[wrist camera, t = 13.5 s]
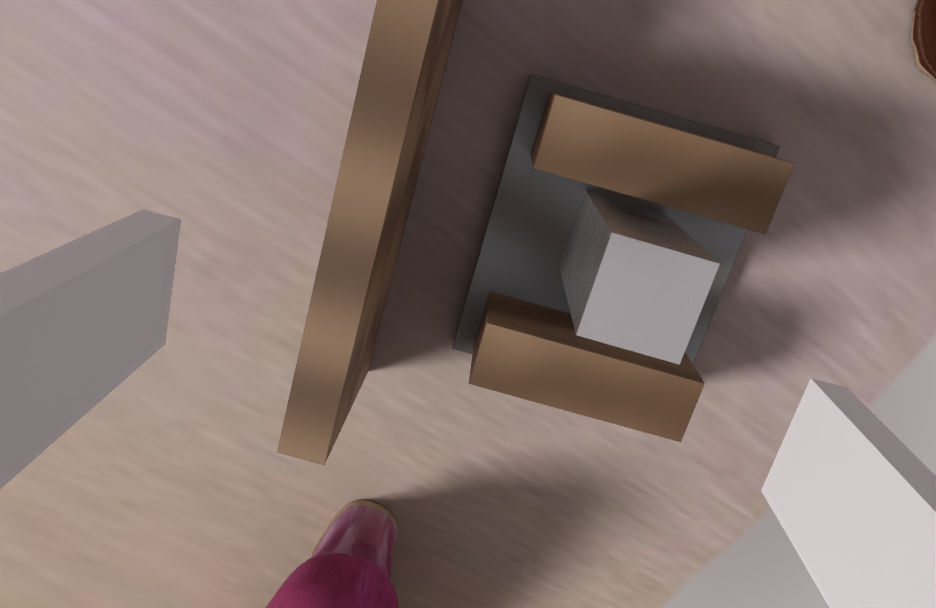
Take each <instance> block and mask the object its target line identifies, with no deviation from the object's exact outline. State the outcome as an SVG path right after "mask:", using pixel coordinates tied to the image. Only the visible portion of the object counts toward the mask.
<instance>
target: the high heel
mask: <svg viewBox="0 0 936 608" xmlns="http://www.w3.org/2000/svg"><path fill="white" fill-rule="evenodd" d="M397 531H398V525H397V522H396V520H395V518H394V516H393V515H392V514H391V513H390V512H389V511H388V510H387V509H386V508H384V507H383V506H380V505H378V504H376V503H374V502H372V501H367V500H357V501H353V502H350V503H349V504H347V505H345V506H344V507H343V508H342V509H341V510H340V511H339V512H338V513H337V515H336V516H335V517H334V518H333V520H332V521H331V523H330V524H329V526H328V527H327V529H326V530H325V532H324V533H323V535H322V537H321V538H320V540H319V541H318V543H317V545H316V546H315V548H314V550H313V553H312V558H310V559H308V560H307V561H306V562H304V563H303V564H301V565H300V566H299V567H298V568H297V569H296V570H295V571H293V573H292V574H291V575H290V576H289V577H288V578H287V579H286V581H285V582H284V583H283V584H282V586H281V587H280V588H279V590H278V591H277V592H276V594H275V595H274V597H273V598H272V600H271V601H270V602H269V604H268V605H267V607H266V608H399V605H398V599H397V595H396V592H395V589H394V586H393V584H392V582H391V577H390V569H391V558H392V552H393V547H394V543H395V539H396V536H397Z"/></svg>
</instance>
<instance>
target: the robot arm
mask: <svg viewBox="0 0 936 608" xmlns="http://www.w3.org/2000/svg"><path fill="white" fill-rule="evenodd" d="M180 223H181V219H178V218H174V217H170V216H166V215H162V214H158V213H154V212H150V211H146V210H141V211H139V212H137V213H134V214H132V215H130V216H128V217H125V218H123V219H121V220H119V221H117V222H114V223H112V224H110V225H108V226H105V227H103V228H101V229H99V230H97V231H94V232H92V233H90V234H88V235H85V236H83V237H81V238H79V239H77V240H74V241H72V242H70V243H68V244H65V245H63V246H61V247H59V248H57V249H54V250H52V251H50V252H48V253H45V254H43V255H41V256H39V257H37V258H34V259H32V260H30V261H28V262H25V263H23V264H21V265H19V266H17V267H14V268H12V269H10V270H8V271H5V272H3V273H1V274H0V489H1V488H2V487H3V486H4V485H5V484H7V483H8V482H9V481H10V480H11V479H12V478H13V477H14V476H16V475H17V474H18V473H19V472H20V471H21V470H22V469H24V468H25V467H26V466H27V465H28V464H29V463H30V462H32V461H33V460H34V459H35V458H36V457H37V456H38V455H40V454H41V453H42V452H43V451H44V450H45V449H46V448H47V447H49V446H50V445H51V444H52V443H53V442H54V441H55V440H57V439H58V438H59V437H60V436H61V435H62V434H63V433H65V432H66V431H67V430H68V429H69V428H70V427H71V426H72V425H74V424H75V423H76V422H77V421H78V420H79V419H80V418H82V417H83V416H84V415H85V414H86V413H87V412H88V411H90V410H91V409H92V408H93V407H94V406H95V405H96V404H98V403H99V402H100V401H101V400H102V399H103V398H104V397H105V396H107V395H108V394H109V393H110V392H111V391H112V390H113V389H115V388H116V387H117V386H118V385H119V384H120V383H121V382H123V381H124V380H125V379H126V378H127V377H128V376H129V375H131V374H132V373H133V372H134V371H135V370H136V369H137V368H138V367H140V366H141V365H142V364H143V363H144V362H145V361H146V360H148V359H149V358H150V357H151V356H152V355H153V354H154V353H156V352H157V351H158V350H159V349H160V348H161V347H162V346H164V345H165V341H166V333H167V325H168V317H169V310H170V302H171V294H172V286H173V278H174V270H175V262H176V255H177V247H178V239H179V231H180ZM761 491H762V493H763V495H764V496H765V498H766V500H767V502H768V503H769V505H770V507H771V508H772V510H773V512H774V513H775V515H776V517H777V518H778V520H779V522H780V524H781V525H782V527H783V529H784V530H785V532H786V534H787V535H788V537H789V539H790V541H791V543H792V544H793V546H794V547H795V549H796V551H797V553H798V554H799V556H800V558H801V560H802V561H803V563H804V565H805V566H806V568H807V570H808V572H809V573H810V575H811V577H812V578H813V580H814V582H815V584H816V585H817V587H818V589H819V590H820V592H821V594H822V595H823V597H824V599H825V601H826V602H827V604H828V606H829V607H830V608H936V476H935V474H933V473H932V472H931V470H929V469H928V468H927V467H926V466H925V465H924V464H923V463H922V462H921V461H920V460H919V459H918V458H917V457H916V456H915V455H914V454H913V453H912V452H911V451H910V450H909V449H908V448H907V447H906V446H905V445H904V444H903V443H902V442H901V441H900V440H899V439H898V438H897V437H896V436H895V435H894V434H893V433H892V432H891V431H890V430H889V429H888V428H887V427H886V426H885V425H884V424H883V423H882V422H881V421H880V420H879V419H878V418H877V417H876V416H875V415H874V414H873V413H872V412H871V411H870V410H869V409H868V408H867V407H866V406H865V405H864V404H863V403H862V402H861V401H860V400H859V399H858V398H856V397H855V396H854V395H853V394H852V393H851V392H850V391H849V390H848V389H847V388H846V387H843V386H839V385H835V384H831V383H827V382H823V381H819V380H815V379H810V381H809V383H808V386H807V388H806V390H805V392H804V395H803V397H802V399H801V402H800V404H799V406H798V408H797V411H796V413H795V415H794V417H793V420H792V422H791V424H790V426H789V429H788V431H787V433H786V436H785V438H784V440H783V442H782V445H781V447H780V449H779V451H778V454H777V456H776V458H775V460H774V463H773V465H772V467H771V469H770V472H769V474H768V476H767V479H766V481H765V483H764V485H763V488H762V490H761Z"/></svg>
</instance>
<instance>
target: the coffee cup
mask: <svg viewBox="0 0 936 608" xmlns="http://www.w3.org/2000/svg"><path fill="white" fill-rule="evenodd" d="M910 43H911V44H912V47H913V51H914V57H915V64H916V65H917V67H918V69H919V70H920V71H921V72H923V73H924V74H926V75H928V76H930V77H931V78H932V79H933V80H934V81H935V82H936V0H917V2H916V6H915V8H914V11H913V19H912V28H911V34H910Z"/></svg>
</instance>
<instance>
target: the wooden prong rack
mask: <svg viewBox="0 0 936 608" xmlns="http://www.w3.org/2000/svg"><path fill="white" fill-rule="evenodd" d="M461 3H462V0H377V3H376V7H375V12H374V16H373V21H372V25H371V30H370V34H369V39H368V43H367V48H366V52H365V57H364V61H363V66H362V70H361V75H360V79H359V84H358V88H357V93H356V97H355V102H354V107H353V111H352V116H351V120H350V125H349V129H348V134H347V138H346V143H345V147H344V152H343V156H342V161H341V165H340V170H339V174H338V179H337V183H336V188H335V192H334V197H333V201H332V206H331V211H330V215H329V220H328V224H327V229H326V233H325V238H324V242H323V247H322V251H321V256H320V260H319V265H318V269H317V274H316V278H315V283H314V287H313V292H312V296H311V301H310V305H309V310H308V315H307V319H306V324H305V328H304V333H303V337H302V342H301V346H300V351H299V355H298V360H297V364H296V369H295V373H294V378H293V382H292V387H291V391H290V396H289V400H288V405H287V409H286V414H285V419H284V423H283V428H282V432H281V437H280V441H279V446H278V450H277V453H281V454H285V455H288V456H292V457H296V458H299V459H303V460H307V461H310V462H314V463H318V464H321V465H325V462H326V460H327V458H328V456H329V454H330V452H331V450H332V447H333V445H334V443H335V441H336V439H337V437H338V435H339V432H340V430H341V428H342V426H343V424H344V422H345V420H346V418H347V415H348V413H349V411H350V409H351V407H352V405H353V403H354V400H355V398H356V396H357V394H358V392H359V390H360V388H361V385H362V383H363V381H364V379H365V377H366V375H367V373H368V369H369V365H370V361H371V357H372V354H373V350H374V346H375V342H376V338H377V334H378V330H379V326H380V322H381V318H382V314H383V310H384V306H385V302H386V298H387V294H388V291H389V287H390V283H391V279H392V275H393V271H394V267H395V263H396V259H397V255H398V251H399V247H400V243H401V239H402V235H403V231H404V228H405V224H406V220H407V216H408V212H409V208H410V204H411V200H412V196H413V192H414V188H415V184H416V180H417V176H418V172H419V168H420V165H421V161H422V157H423V153H424V149H425V145H426V141H427V137H428V133H429V129H430V125H431V121H432V117H433V113H434V109H435V105H436V102H437V98H438V94H439V90H440V86H441V82H442V78H443V74H444V70H445V66H446V62H447V58H448V54H449V50H450V46H451V42H452V38H453V35H454V31H455V27H456V23H457V19H458V15H459V11H460V7H461ZM779 148H780V146H777V145H773V144H770V143H766V142H763V141H759V140H756V139H753V138H749V137H746V136H742V135H739V134H735V133H732V132H728V131H725V130H722V129H718V128H715V127H711V126H708V125H704V124H701V123H697V122H694V121H691V120H687V119H684V118H680V117H677V116H673V115H670V114H666V113H663V112H660V111H656V110H653V109H649V108H646V107H642V106H639V105H635V104H632V103H628V102H625V101H622V100H618V99H615V98H611V97H608V96H604V95H601V94H597V93H594V92H591V91H587V90H584V89H580V88H577V87H573V86H570V85H566V84H563V83H560V82H556V81H553V80H549V79H546V78H542V77H539V76H535V75H532V74H531V76H530V80H529V83H528V87H527V90H526V94H525V97H524V101H523V104H522V108H521V111H520V115H519V118H518V121H517V125H516V128H515V132H514V135H513V139H512V142H511V146H510V149H509V153H508V156H507V160H506V163H505V167H504V170H503V173H502V177H501V180H500V184H499V187H498V191H497V194H496V198H495V201H494V205H493V208H492V212H491V215H490V218H489V222H488V225H487V229H486V232H485V236H484V239H483V243H482V246H481V250H480V253H479V257H478V260H477V264H476V267H475V270H474V274H473V277H472V281H471V284H470V288H469V291H468V295H467V298H466V302H465V305H464V309H463V312H462V315H461V319H460V322H459V326H458V329H457V333H456V336H455V340H454V344H453V349H457V350H460V351H464V352H467V353H471V354H473V355H472V363H471V371H470V378H469V384H472V385H476V386H479V387H483V388H486V389H490V390H494V391H497V392H501V393H505V394H508V395H512V396H515V397H519V398H523V399H526V400H530V401H534V402H537V403H541V404H544V405H548V406H552V407H555V408H559V409H562V410H566V411H570V412H573V413H577V414H581V415H584V416H588V417H591V418H595V419H599V420H602V421H606V422H610V423H613V424H617V425H620V426H624V427H628V428H631V429H635V430H639V431H642V432H646V433H649V434H653V435H657V436H660V437H664V438H667V439H671V440H675V441H678V442H681V440H682V438H683V435H684V433H685V431H686V428H687V426H688V423H689V421H690V418H691V416H692V413H693V411H694V408H695V406H696V404H697V401H698V399H699V396H700V394H701V391H702V389H703V386H704V382H703V380H702V379H701V377H700V376H699V374H698V372H697V371H696V369H695V368H694V366H693V364H694V361H695V359H696V356H697V354H698V351H699V348H700V346H701V343H702V341H703V338H704V336H705V333H706V331H707V328H708V326H709V323H710V321H711V318H712V316H713V313H714V311H715V308H716V306H717V303H718V301H719V298H720V296H721V293H722V291H723V288H724V286H725V283H726V281H727V278H728V276H729V273H730V271H731V268H732V266H733V263H734V261H735V258H736V256H737V253H738V251H739V248H740V246H741V243H742V241H743V238H744V236H745V233H746V231H747V229H748V230H752V231H755V232H759V233H762V234H766V232H767V229H768V227H769V224H770V222H771V219H772V217H773V214H774V212H775V209H776V207H777V205H778V202H779V200H780V197H781V195H782V192H783V190H784V187H785V185H786V182H787V180H788V178H789V175H790V173H791V170H792V168H793V165H794V164H793V163H790V162H787V161H784V160H781V159H778V158H776V155H777V153H778V150H779ZM585 189H586V190H589V191H593V192H596V193H600V194H603V195H607V196H610V197H613V198H617V199H620V200H624V201H627V202H631V203H634V204H637V205H641V206H644V207H648V208H651V209H655V210H658V211H661V212H665V213H666V214H667V215H668V216H669V217H670V218H671V219H672V220H673V221H674V222H675V223H676V224H678V225H679V226H680V227H681V228H682V229H683V230H684V231H685V232H686V233H687V234H688V235H689V236H690V237H692V238H693V239H694V240H695V241H696V242H697V243H698V244H699V245H700V246H701V247H702V248H703V249H704V250H706V251H707V252H708V253H709V254H710V255H711V256H712V257H713V258H714V259H715V260H716V261H717V262H718V263H719V264H720V265H719V267H718V270H717V272H716V275H715V277H714V280H713V282H712V285H711V287H710V290H709V292H708V295H707V297H706V300H705V302H704V305H703V307H702V310H701V312H700V315H699V317H698V320H697V322H696V325H695V327H694V330H693V332H692V335H691V337H690V340H689V342H688V345H687V348H686V350H685V353H684V355H683V358H682V360H681V363H680V365H679V364H676V363H672V362H669V361H665V360H662V359H658V358H655V357H651V356H648V355H644V354H641V353H637V352H634V351H630V350H626V349H623V348H619V347H616V346H612V345H609V344H605V343H602V342H598V341H595V340H591V339H588V338H584V337H581V336H577V335H576V333H575V329H574V325H573V321H572V317H571V313H570V309H569V305H568V301H567V297H566V293H565V289H564V285H563V281H562V277H561V273H560V269H559V266H560V263H561V260H562V257H563V254H564V251H565V248H566V244H567V241H568V238H569V235H570V232H571V229H572V226H573V223H574V220H575V217H576V214H577V211H578V208H579V205H580V202H581V199H582V196H583V193H584V190H585Z"/></svg>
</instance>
